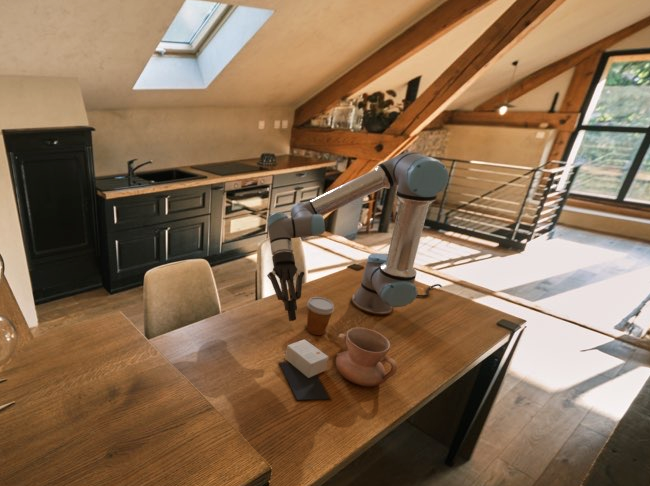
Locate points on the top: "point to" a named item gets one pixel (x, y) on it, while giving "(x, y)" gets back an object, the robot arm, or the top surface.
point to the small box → (306, 358)
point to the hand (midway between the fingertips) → (292, 320)
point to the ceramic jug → (364, 357)
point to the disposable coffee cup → (318, 314)
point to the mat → (303, 384)
